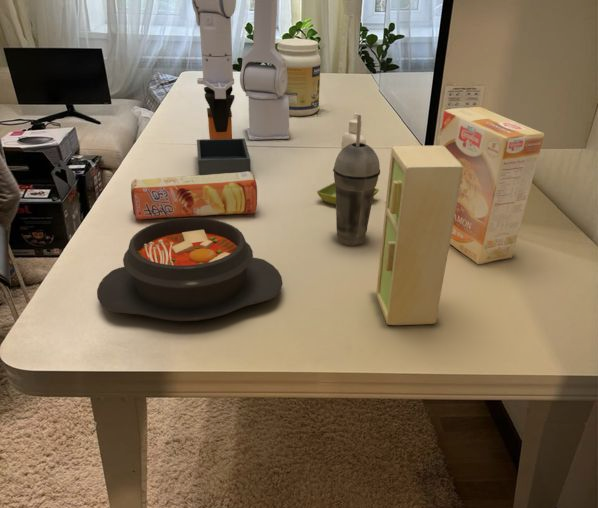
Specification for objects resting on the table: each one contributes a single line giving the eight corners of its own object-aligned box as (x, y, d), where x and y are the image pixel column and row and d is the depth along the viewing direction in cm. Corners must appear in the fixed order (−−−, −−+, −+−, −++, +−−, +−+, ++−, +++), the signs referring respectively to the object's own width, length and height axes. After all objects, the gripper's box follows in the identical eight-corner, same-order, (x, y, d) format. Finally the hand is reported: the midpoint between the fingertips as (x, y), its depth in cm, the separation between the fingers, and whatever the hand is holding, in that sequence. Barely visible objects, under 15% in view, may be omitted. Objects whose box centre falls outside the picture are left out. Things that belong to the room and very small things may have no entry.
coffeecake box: (423, 226, 103) (442, 108, 91) (458, 220, 105) (480, 105, 94) (477, 265, 92) (506, 137, 80) (513, 258, 94) (547, 132, 83)
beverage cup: (377, 234, 100) (391, 109, 88) (367, 252, 95) (380, 122, 83) (335, 227, 102) (343, 104, 90) (323, 244, 96) (330, 116, 85)
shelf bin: (245, 156, 130) (244, 138, 128) (250, 178, 120) (250, 158, 117) (198, 158, 129) (196, 139, 127) (199, 180, 118) (197, 160, 116)
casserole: (94, 342, 73) (81, 282, 68) (104, 270, 88) (93, 216, 83) (293, 324, 78) (294, 267, 73) (271, 258, 92) (270, 206, 87)
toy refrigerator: (369, 294, 84) (386, 144, 72) (420, 293, 85) (445, 144, 72) (380, 326, 78) (400, 167, 65) (435, 325, 78) (466, 167, 66)
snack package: (134, 224, 101) (128, 185, 97) (135, 208, 106) (130, 171, 102) (258, 217, 104) (257, 180, 100) (254, 203, 110) (253, 166, 106)
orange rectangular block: (231, 132, 123) (230, 107, 120) (232, 139, 120) (231, 113, 117) (208, 133, 122) (206, 107, 119) (209, 139, 119) (207, 113, 116)
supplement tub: (319, 117, 157) (322, 46, 147) (273, 116, 157) (272, 44, 147) (318, 105, 167) (321, 38, 157) (275, 104, 166) (275, 36, 156)
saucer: (340, 188, 116) (340, 178, 115) (379, 199, 112) (380, 188, 111) (315, 202, 111) (315, 191, 109) (355, 214, 107) (356, 203, 105)
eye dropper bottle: (360, 169, 126) (365, 109, 118) (363, 178, 121) (369, 117, 114) (339, 169, 125) (343, 109, 118) (342, 178, 121) (346, 117, 114)
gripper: (194, 47, 117) (199, 118, 125) (196, 61, 106) (201, 139, 114) (230, 46, 118) (233, 117, 126) (235, 61, 107) (238, 138, 115)
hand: (220, 128), depth 120 cm, fingers closed on orange rectangular block, 4 cm apart
